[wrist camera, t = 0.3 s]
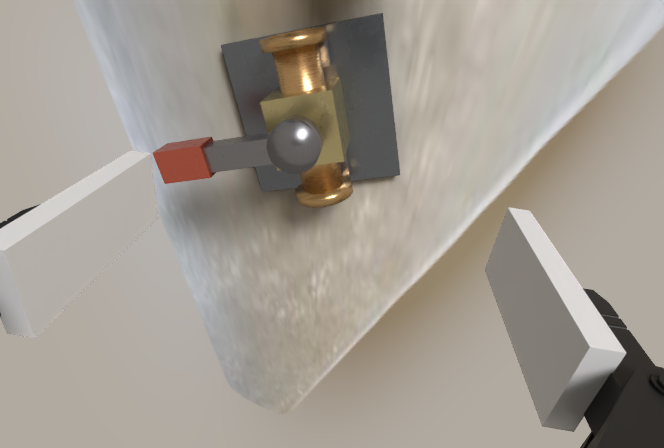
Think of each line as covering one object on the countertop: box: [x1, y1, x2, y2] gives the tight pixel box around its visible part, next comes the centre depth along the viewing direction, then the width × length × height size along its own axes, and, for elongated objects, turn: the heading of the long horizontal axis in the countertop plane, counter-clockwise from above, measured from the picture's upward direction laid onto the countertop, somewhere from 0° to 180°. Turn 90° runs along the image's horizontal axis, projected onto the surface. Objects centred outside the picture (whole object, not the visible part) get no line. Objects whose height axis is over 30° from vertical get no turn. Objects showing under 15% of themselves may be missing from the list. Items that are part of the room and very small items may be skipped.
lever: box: [153, 115, 323, 184], centre depth 32 cm, size 13×4×2 cm, turn 100°
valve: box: [221, 13, 400, 208], centre depth 36 cm, size 15×15×10 cm
